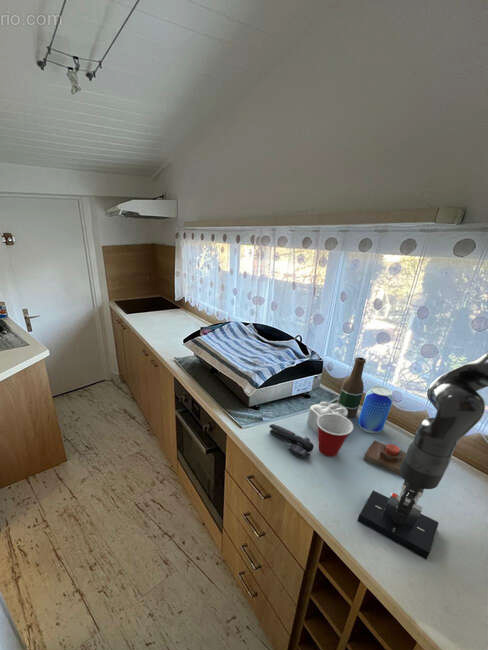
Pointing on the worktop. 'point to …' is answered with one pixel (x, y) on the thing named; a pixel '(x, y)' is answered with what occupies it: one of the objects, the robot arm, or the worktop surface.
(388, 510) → the tap handle
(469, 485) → the worktop surface
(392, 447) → the button
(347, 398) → the beer bottle
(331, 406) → the white bumpy block
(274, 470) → the worktop surface
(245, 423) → the worktop surface
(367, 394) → the beer can
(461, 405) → the robot arm
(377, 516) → the lever switch
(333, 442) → the plastic cup
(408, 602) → the worktop surface
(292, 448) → the can opener
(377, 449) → the button block
